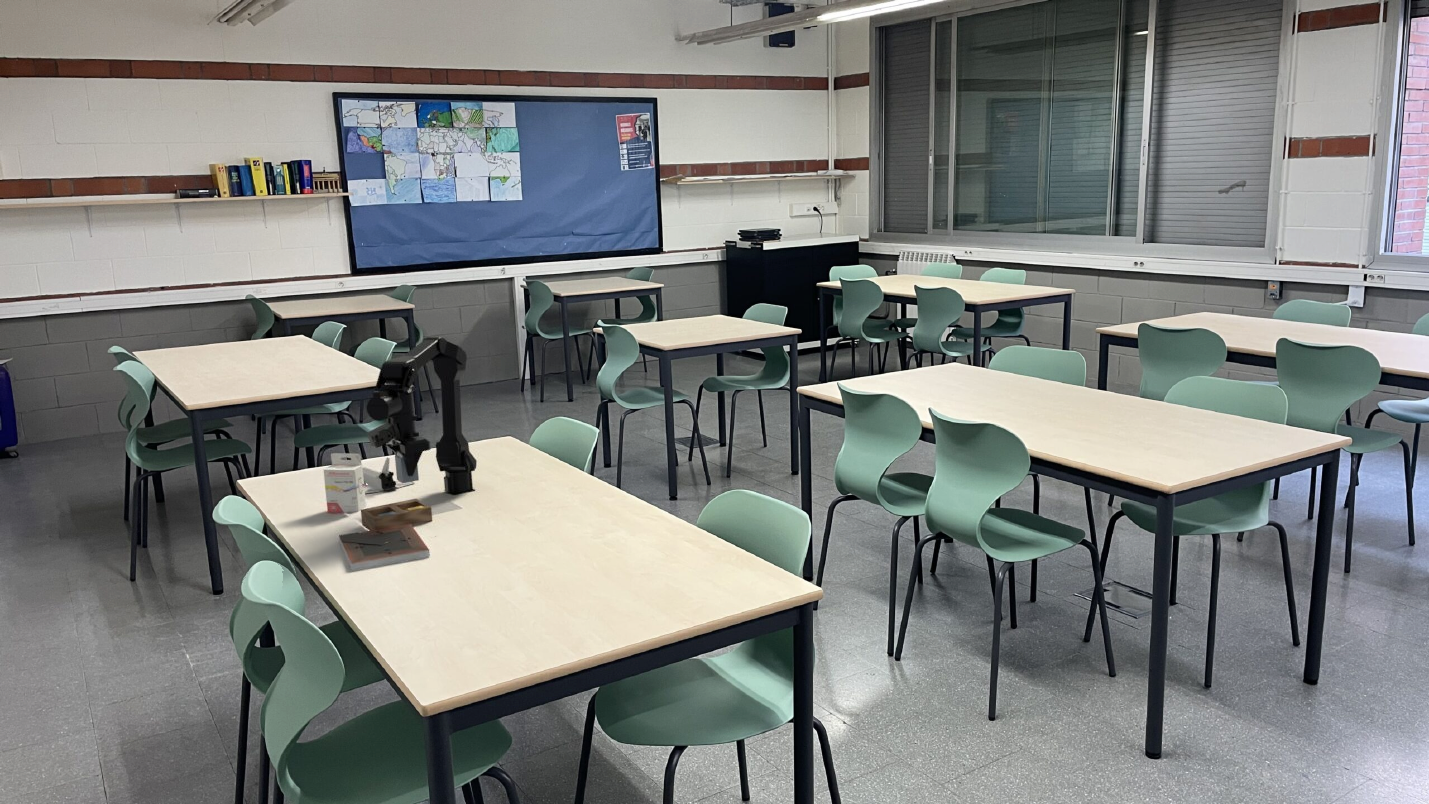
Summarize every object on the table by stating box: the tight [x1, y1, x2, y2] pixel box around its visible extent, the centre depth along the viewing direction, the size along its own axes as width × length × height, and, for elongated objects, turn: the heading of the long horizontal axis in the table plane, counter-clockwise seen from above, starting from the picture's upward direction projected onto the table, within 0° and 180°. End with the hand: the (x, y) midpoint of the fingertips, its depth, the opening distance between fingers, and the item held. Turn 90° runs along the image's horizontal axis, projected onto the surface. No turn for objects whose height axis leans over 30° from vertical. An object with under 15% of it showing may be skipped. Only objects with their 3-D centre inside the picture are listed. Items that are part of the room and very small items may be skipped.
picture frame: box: [338, 524, 431, 572], centre depth 233 cm, size 16×2×22 cm
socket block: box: [360, 498, 433, 531], centre depth 250 cm, size 14×10×4 cm
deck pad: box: [429, 501, 463, 516], centre depth 261 cm, size 8×8×1 cm
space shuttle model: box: [363, 457, 415, 495], centre depth 287 cm, size 16×25×10 cm, turn 39°
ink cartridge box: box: [323, 453, 367, 514], centre depth 261 cm, size 9×5×15 cm, turn 84°
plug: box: [394, 452, 420, 483], centre depth 250 cm, size 4×4×7 cm
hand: (407, 474), depth 250 cm, fingers closed on plug, 4 cm apart
